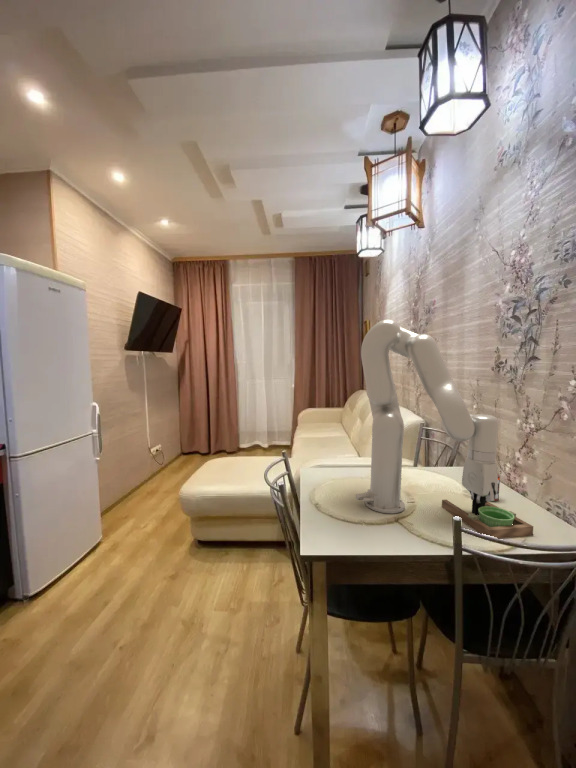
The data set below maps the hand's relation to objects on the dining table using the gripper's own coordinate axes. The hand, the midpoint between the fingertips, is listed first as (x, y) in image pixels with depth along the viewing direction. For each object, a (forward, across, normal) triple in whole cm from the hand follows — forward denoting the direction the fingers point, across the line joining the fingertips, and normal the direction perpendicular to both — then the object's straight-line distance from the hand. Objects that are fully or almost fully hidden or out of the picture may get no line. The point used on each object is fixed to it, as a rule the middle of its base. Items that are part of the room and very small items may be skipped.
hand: (478, 513), depth 109 cm
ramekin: (+1, +7, 0) cm, 7 cm away
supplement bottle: (+1, -12, +14) cm, 18 cm away
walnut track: (+1, +2, 0) cm, 2 cm away
